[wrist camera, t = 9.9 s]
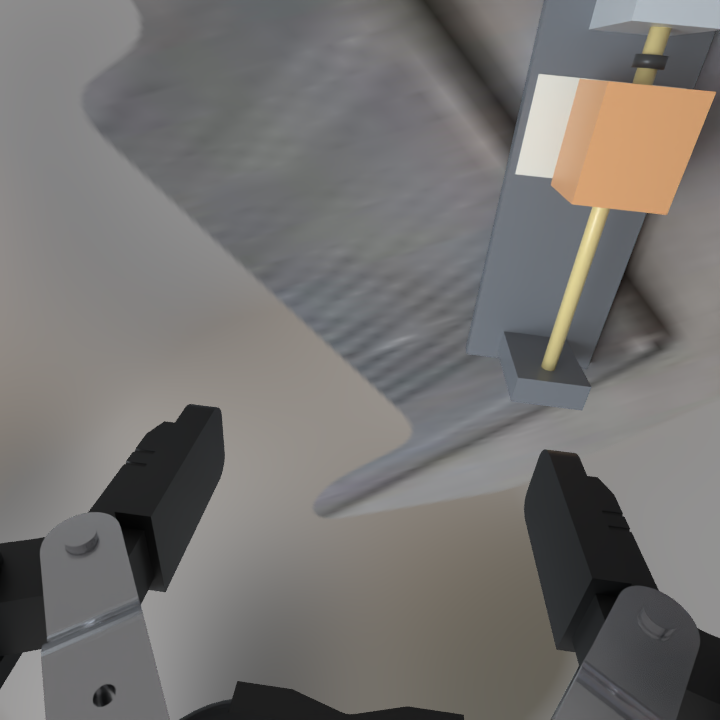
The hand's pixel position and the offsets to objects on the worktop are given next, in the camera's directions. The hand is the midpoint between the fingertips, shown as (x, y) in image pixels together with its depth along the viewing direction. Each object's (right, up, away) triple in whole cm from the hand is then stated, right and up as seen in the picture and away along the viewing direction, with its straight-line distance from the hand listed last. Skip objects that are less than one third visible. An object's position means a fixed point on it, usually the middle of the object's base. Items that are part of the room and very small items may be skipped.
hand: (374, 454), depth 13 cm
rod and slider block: (+15, +14, +23) cm, 31 cm away
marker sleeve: (+15, +16, +18) cm, 28 cm away
